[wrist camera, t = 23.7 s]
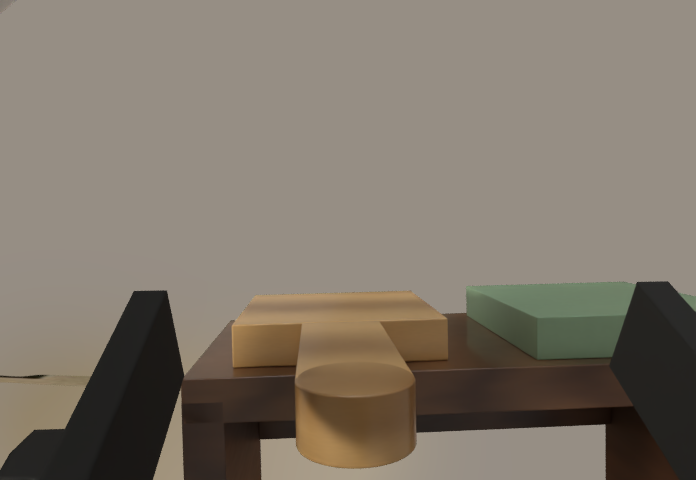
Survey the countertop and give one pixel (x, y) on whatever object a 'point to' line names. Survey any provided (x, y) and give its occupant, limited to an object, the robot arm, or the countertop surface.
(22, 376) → the countertop surface
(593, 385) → the walnut stand
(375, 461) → the beech board
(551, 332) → the green board
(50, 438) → the robot arm
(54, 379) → the countertop surface
